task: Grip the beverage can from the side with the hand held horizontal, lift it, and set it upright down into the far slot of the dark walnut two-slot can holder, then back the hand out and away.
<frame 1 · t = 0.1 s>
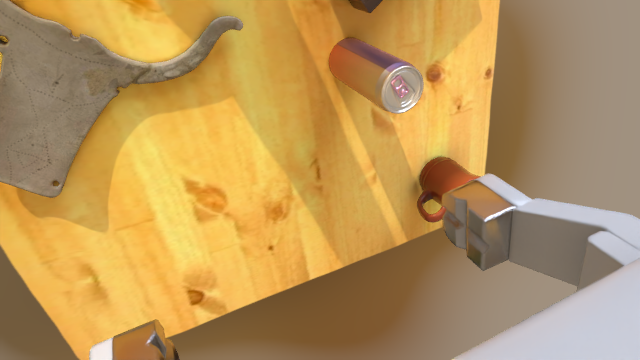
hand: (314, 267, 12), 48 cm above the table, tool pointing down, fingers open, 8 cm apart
decorative wall piece: (65, 70, 50), on the table
beverage can: (345, 58, 63), on the table
mug: (426, 176, 80), on the table
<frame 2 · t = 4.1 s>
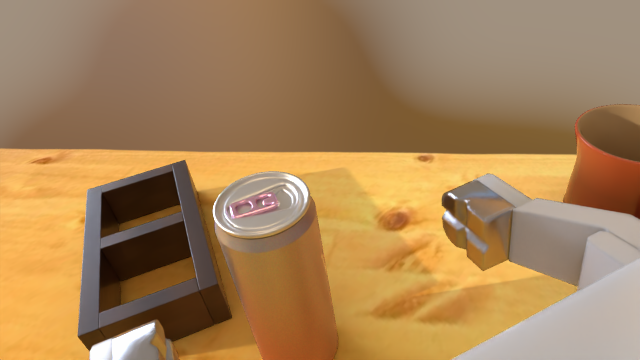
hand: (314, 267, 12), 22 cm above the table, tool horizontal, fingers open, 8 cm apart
beverage can: (300, 348, 34), on the table
mug: (614, 242, 39), on the table
holder: (159, 262, 43), on the table
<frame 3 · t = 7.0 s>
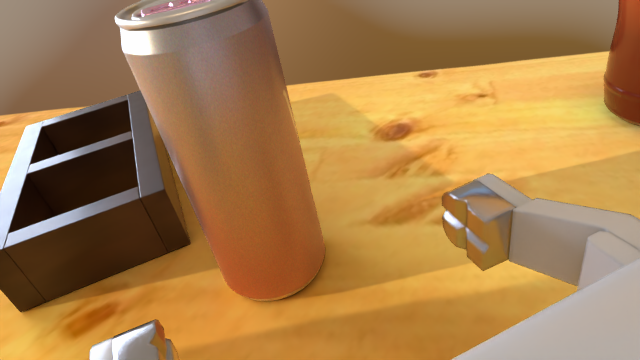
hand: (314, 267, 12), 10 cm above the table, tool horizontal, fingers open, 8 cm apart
beverage can: (277, 268, 26), on the table
holder: (108, 198, 35), on the table
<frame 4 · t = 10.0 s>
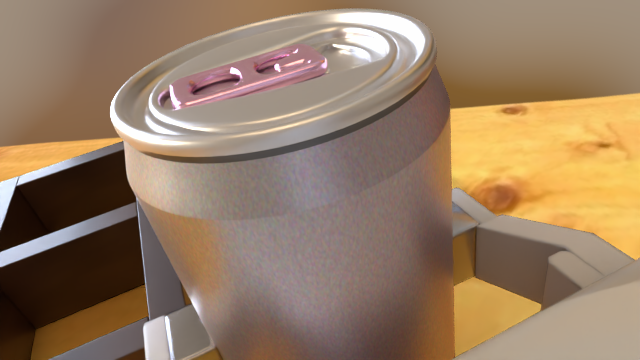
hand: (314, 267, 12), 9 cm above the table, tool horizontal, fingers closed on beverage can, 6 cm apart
holder: (104, 291, 26), on the table
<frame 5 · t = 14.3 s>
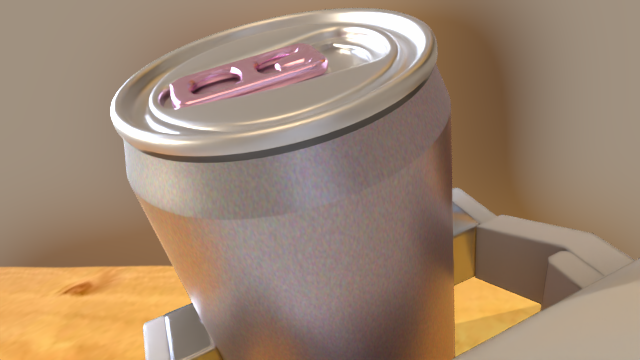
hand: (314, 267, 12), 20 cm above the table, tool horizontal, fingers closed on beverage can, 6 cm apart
when the fingers open (9 cm above the table, at t = 18.9 s): beverage can stays where it is, resting in holder.
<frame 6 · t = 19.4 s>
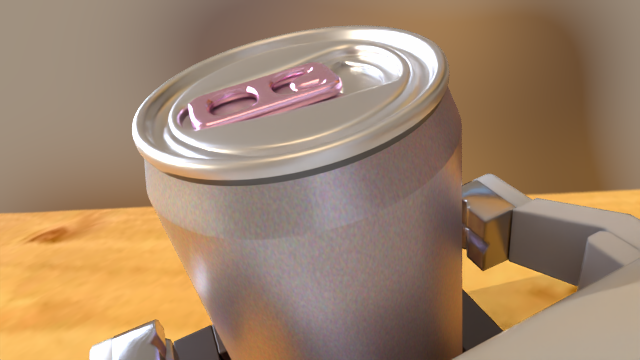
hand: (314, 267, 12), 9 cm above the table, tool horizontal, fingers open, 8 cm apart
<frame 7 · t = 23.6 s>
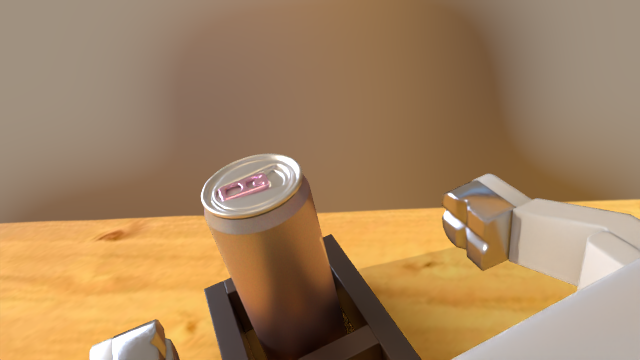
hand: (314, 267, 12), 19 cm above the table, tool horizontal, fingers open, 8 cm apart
beverage can: (308, 348, 32), resting in holder
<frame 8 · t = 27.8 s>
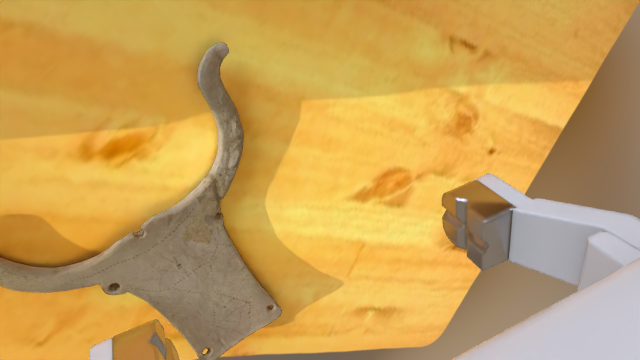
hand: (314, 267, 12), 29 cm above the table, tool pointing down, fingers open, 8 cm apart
decorative wall piece: (172, 246, 44), on the table
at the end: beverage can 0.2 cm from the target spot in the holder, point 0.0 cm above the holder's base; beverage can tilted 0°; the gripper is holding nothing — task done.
